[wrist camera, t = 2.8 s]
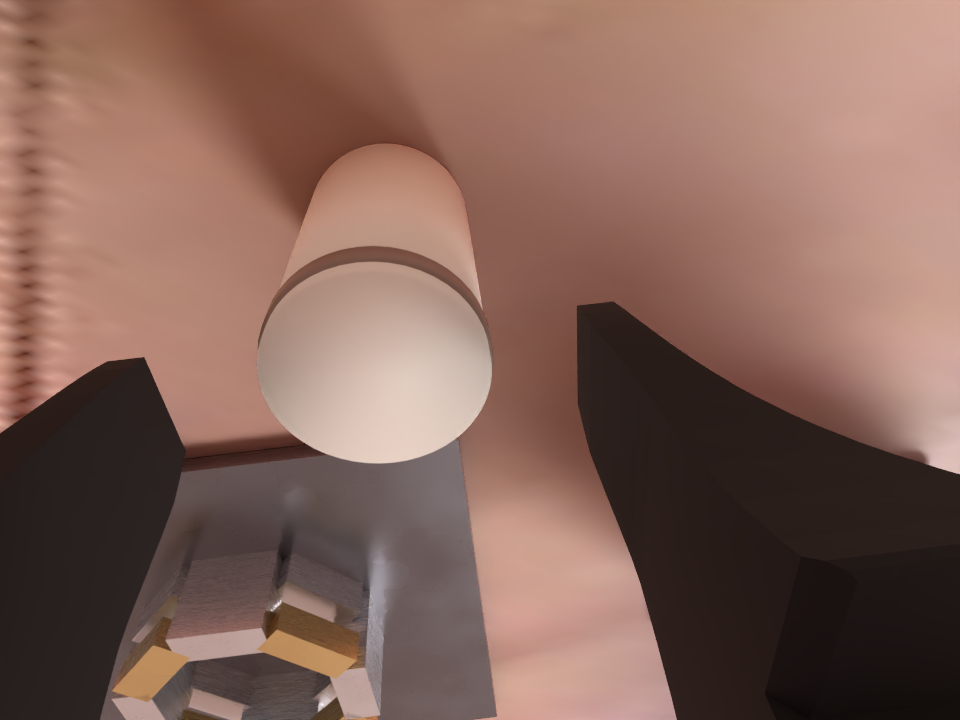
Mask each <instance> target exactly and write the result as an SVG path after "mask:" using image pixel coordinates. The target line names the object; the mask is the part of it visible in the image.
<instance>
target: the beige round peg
mask: <svg viewBox="0 0 960 720" xmlns="http://www.w3.org/2000/svg"><path fill="white" fill-rule="evenodd" d="M256 365H257V377H258V381H259V385H260V389H261V392H262V394H263V397H264V399H265V402H266V403H267V405H268V407H269V408H270V410H271V412H272V413H273V415H274V416H275V417H276V418H277V419H278V421H279V422H280V423H281V424H282V425H283V426H284V427H285V428H286V429H287V430H288V431H289V432H290V433H291V434H293V435H294V436H295V437H297V438H298V439H299V440H301V441H302V442H304V443H305V444H307V445H309V446H311V447H312V448H314V449H316V450H319V451H321V452H323V453H325V454H328V455H331V456H334V457H337V458H340V459H345V460H349V461H354V462H362V463H380V464H381V463H395V462H401V461H407V460H411V459H415V458H418V457H422V456H424V455H427V454H429V453H432V452H434V451H436V450H438V449H440V448H442V447H444V446H446V445H447V444H449V443H450V442H452V441H453V440H455V439H456V438H457V437H458V436H460V435H461V434H462V433H463V432H464V431H465V430H466V429H467V428H468V427H469V426H470V425H471V424H472V423H473V421H474V420H475V419H476V417H477V416H478V414H479V413H480V411H481V410H482V408H483V405H484V403H485V401H486V399H487V396H488V393H489V389H490V385H491V378H492V366H493V351H492V345H491V339H490V334H489V328H488V323H487V320H486V317H485V314H484V312H483V308H482V302H481V296H480V290H479V284H478V278H477V272H476V266H475V260H474V254H473V248H472V242H471V236H470V230H469V224H468V218H467V212H466V207H465V202H464V199H463V196H462V193H461V191H460V189H459V187H458V185H457V183H456V182H455V180H454V179H453V177H452V176H451V175H450V173H449V172H448V171H447V170H446V169H445V168H444V167H443V166H442V165H441V164H440V163H439V162H438V161H436V160H435V159H433V158H432V157H430V156H429V155H427V154H425V153H423V152H421V151H419V150H417V149H414V148H411V147H408V146H403V145H399V144H388V143H385V144H373V145H367V146H363V147H360V148H357V149H355V150H353V151H350V152H348V153H346V154H345V155H343V156H342V157H340V158H339V159H337V160H336V161H335V162H334V163H333V164H332V165H331V166H330V167H329V168H328V169H327V170H326V171H325V173H324V174H323V175H322V177H321V179H320V180H319V182H318V184H317V186H316V188H315V191H314V193H313V196H312V199H311V202H310V204H309V207H308V210H307V213H306V215H305V218H304V221H303V224H302V226H301V229H300V232H299V235H298V237H297V240H296V243H295V246H294V249H293V251H292V254H291V257H290V260H289V262H288V265H287V268H286V271H285V273H284V276H283V279H282V282H281V284H280V287H279V290H278V292H277V294H276V295H275V297H274V299H273V300H272V302H271V305H270V307H269V309H268V312H267V314H266V317H265V320H264V322H263V325H262V328H261V332H260V336H259V340H258V352H257V364H256Z"/></svg>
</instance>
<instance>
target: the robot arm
mask: <svg viewBox="0 0 960 720" xmlns="http://www.w3.org/2000/svg"><path fill="white" fill-rule="evenodd" d="M577 364H578V406H579V410H580V414H581V418H582V423H583V427H584V431H585V435H586V439H587V442H588V446H589V450H590V453H591V456H592V459H593V461H594V464H595V466H596V469H597V472H598V474H599V477H600V479H601V482H602V484H603V487H604V490H605V492H606V495H607V497H608V500H609V502H610V505H611V507H612V510H613V512H614V515H615V517H616V520H617V522H618V525H619V527H620V530H621V532H622V535H623V537H624V540H625V542H626V545H627V547H628V550H629V552H630V555H631V557H632V560H633V563H634V566H635V569H636V572H637V574H638V577H639V580H640V583H641V587H642V590H643V594H644V597H645V601H646V604H647V608H648V612H649V615H650V619H651V622H652V626H653V630H654V633H655V637H656V640H657V644H658V648H659V652H660V655H661V659H662V663H663V667H664V671H665V674H666V678H667V682H668V686H669V690H670V693H671V697H672V701H673V705H674V709H675V713H676V717H677V720H960V474H956V473H953V472H949V471H946V470H942V469H939V468H936V467H933V466H930V465H926V464H923V463H920V462H917V461H913V460H910V459H907V458H904V457H901V456H897V455H894V454H891V453H888V452H885V451H883V450H880V449H877V448H874V447H871V446H868V445H865V444H863V443H860V442H857V441H855V440H852V439H850V438H847V437H845V436H842V435H840V434H837V433H835V432H832V431H829V430H827V429H824V428H822V427H819V426H817V425H815V424H812V423H810V422H808V421H805V420H803V419H801V418H799V417H796V416H794V415H792V414H790V413H788V412H786V411H784V410H782V409H780V408H778V407H776V406H774V405H772V404H770V403H768V402H766V401H764V400H762V399H760V398H757V397H755V396H754V395H752V394H750V393H748V392H746V391H744V390H743V389H741V388H739V387H737V386H735V385H734V384H732V383H730V382H729V381H727V380H725V379H724V378H722V377H720V376H719V375H717V374H716V373H714V372H712V371H711V370H709V369H707V368H706V367H704V366H703V365H701V364H700V363H698V362H696V361H695V360H693V359H692V358H690V357H689V356H687V355H686V354H684V353H683V352H681V351H680V350H679V349H677V348H676V347H674V346H673V345H672V344H670V343H669V342H667V341H666V340H665V339H663V338H662V337H660V336H659V335H658V334H656V333H655V332H654V331H652V330H651V329H650V328H648V327H647V326H646V325H644V324H643V323H642V322H640V321H639V320H638V319H636V318H635V317H634V316H632V315H631V314H630V313H628V312H627V311H626V310H624V309H623V308H622V307H620V306H619V305H617V304H616V303H615V302H606V303H597V304H589V305H581V306H577ZM184 456H185V449H184V446H183V444H182V442H181V440H180V437H179V435H178V433H177V431H176V428H175V426H174V424H173V421H172V419H171V417H170V415H169V412H168V410H167V408H166V406H165V403H164V401H163V399H162V397H161V394H160V392H159V390H158V387H157V385H156V383H155V381H154V378H153V376H152V374H151V372H150V369H149V367H148V365H147V363H146V360H145V358H144V357H142V358H133V359H125V360H116V361H108V362H106V363H104V364H102V365H100V366H98V367H96V368H95V369H93V370H91V371H90V372H88V373H87V374H85V375H83V376H82V377H80V378H79V379H77V380H76V381H74V382H73V383H71V384H70V385H68V386H67V387H66V388H64V389H63V390H61V391H60V392H58V393H57V394H56V395H54V396H53V397H51V398H50V399H48V400H47V401H46V402H44V403H43V404H41V405H40V406H39V407H37V408H36V409H34V410H33V411H31V412H30V413H29V414H27V415H26V416H24V417H23V418H21V419H20V420H19V421H17V422H16V423H14V424H13V425H12V426H10V427H9V428H7V429H6V430H4V431H3V432H2V433H0V720H100V718H101V713H102V709H103V705H104V702H105V698H106V694H107V691H108V687H109V683H110V679H111V676H112V672H113V668H114V665H115V661H116V657H117V653H118V650H119V647H120V644H121V641H122V638H123V635H124V632H125V629H126V626H127V624H128V621H129V618H130V616H131V613H132V611H133V608H134V606H135V603H136V601H137V598H138V595H139V593H140V590H141V588H142V585H143V583H144V580H145V578H146V575H147V573H148V570H149V568H150V565H151V562H152V560H153V557H154V555H155V552H156V550H157V547H158V545H159V542H160V539H161V537H162V534H163V532H164V529H165V526H166V524H167V521H168V518H169V516H170V513H171V510H172V508H173V505H174V502H175V497H176V493H177V489H178V485H179V481H180V476H181V471H182V466H183V461H184Z"/></svg>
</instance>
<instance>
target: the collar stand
mask: <svg viewBox="0 0 960 720" xmlns="http://www.w3.org/2000/svg"><path fill="white" fill-rule="evenodd" d="M490 717H497V713H496V703H495V696H494V688H493V681H492V674H491V667H490V660H489V652H488V645H487V638H486V631H485V624H484V616H483V609H482V602H481V595H480V588H479V580H478V573H477V566H476V559H475V552H474V544H473V537H472V530H471V523H470V516H469V508H468V501H467V494H466V487H465V480H464V472H463V465H462V458H461V451H460V444H459V436H458V437H457V438H456V439H455V440H453V441H452V442H450V443H449V444H447V445H446V446H444V447H442V448H440V449H438V450H436V451H434V452H432V453H429V454H427V455H424V456H422V457H418V458H415V459H411V460H407V461H401V462H395V463H381V464H380V463H362V462H354V461H349V460H345V459H340V458H337V457H334V456H331V455H328V454H325V453H323V452H321V451H319V450H316V449H314V448H312V447H311V446H309V445H302V446H294V447H285V448H277V449H269V450H260V451H252V452H244V453H235V454H227V455H218V456H210V457H202V458H193V459H185V460H184V461H183V466H182V471H181V476H180V481H179V485H178V489H177V493H176V497H175V502H174V505H173V508H172V510H171V513H170V516H169V518H168V521H167V524H166V526H165V529H164V532H163V534H162V537H161V539H160V542H159V545H158V547H157V550H156V552H155V555H154V557H153V560H152V562H151V565H150V568H149V570H148V573H147V575H146V578H145V580H144V583H143V585H142V588H141V590H140V593H139V595H138V598H137V601H136V603H135V606H134V608H133V611H132V613H131V616H130V618H129V621H128V624H127V626H126V629H125V632H124V635H123V638H122V641H121V644H120V647H119V650H118V653H117V657H116V661H115V665H114V668H113V672H112V676H111V679H110V683H109V687H108V691H107V694H106V698H105V702H104V705H103V709H102V713H101V718H100V720H474V719H482V718H490Z"/></svg>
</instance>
